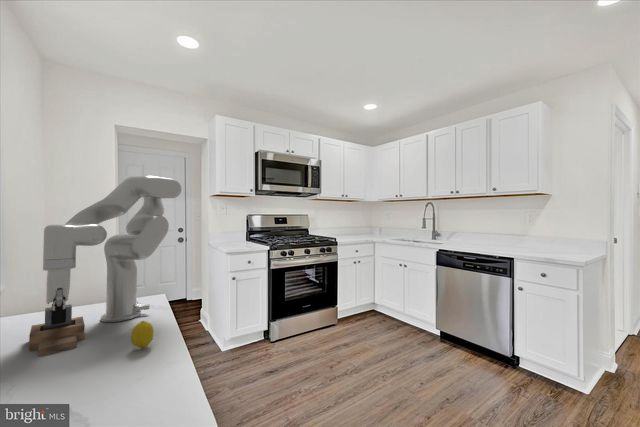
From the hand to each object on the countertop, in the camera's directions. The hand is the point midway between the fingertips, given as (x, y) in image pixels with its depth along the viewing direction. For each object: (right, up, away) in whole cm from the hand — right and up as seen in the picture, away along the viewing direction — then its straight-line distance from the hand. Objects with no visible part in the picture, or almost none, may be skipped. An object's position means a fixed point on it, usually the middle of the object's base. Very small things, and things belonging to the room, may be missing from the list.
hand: (58, 319), depth 87 cm
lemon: (+30, -7, -6) cm, 31 cm away
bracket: (0, -6, 0) cm, 6 cm away
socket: (0, -6, 0) cm, 6 cm away
